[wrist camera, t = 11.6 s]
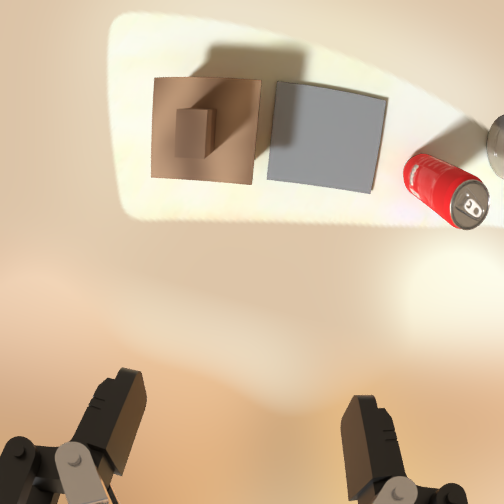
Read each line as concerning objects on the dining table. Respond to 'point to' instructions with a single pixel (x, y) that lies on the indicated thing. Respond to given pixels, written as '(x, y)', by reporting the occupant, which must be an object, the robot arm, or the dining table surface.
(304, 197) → the dining table surface
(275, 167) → the mat
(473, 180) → the beverage can
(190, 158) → the lid
